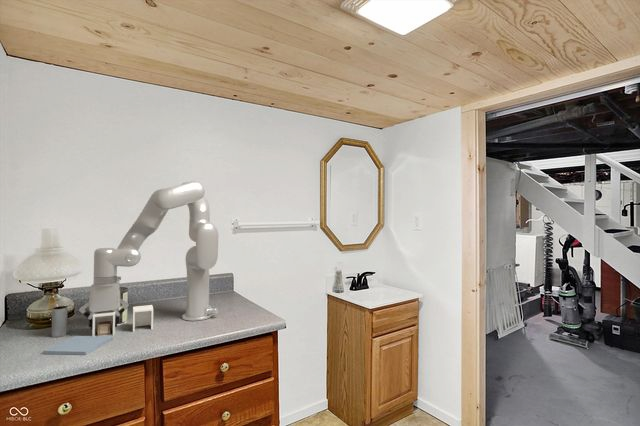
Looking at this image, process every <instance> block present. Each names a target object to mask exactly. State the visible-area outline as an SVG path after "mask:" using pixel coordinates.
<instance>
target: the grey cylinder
mask: <svg viewBox="0 0 640 426" xmlns="http://www.w3.org/2000/svg"><path fill="white" fill-rule="evenodd" d="M67 334H68V306H67V305H60V306H54V307H52V308H51V337H52V338H60V337H64V336H66V335H67Z"/></svg>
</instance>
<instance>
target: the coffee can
mask: <svg viewBox="0 0 640 426" xmlns="http://www.w3.org/2000/svg"><path fill="white" fill-rule="evenodd" d="M128 296H129V288H128V287H125V286H120V298H121V299H122V300H124V301H125V302H127V303H128V298H129V297H128ZM128 304H129V303H128ZM123 306H124V305H122V304H121V303H120V307H119V309H118V310H120V309H121V308H123ZM126 323H128V307H127V308H126V309H125V311H124V312H123V313H122V314H121V315H120V316H119V324H117V327H119V326H122V325H125V324H126Z"/></svg>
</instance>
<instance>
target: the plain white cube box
mask: <svg viewBox="0 0 640 426" xmlns="http://www.w3.org/2000/svg"><path fill="white" fill-rule="evenodd" d="M142 326H143V327H144V326H150V330H154V307H153V304H148V305H137V306H133V307H132V332H133V333H135V331H136V330H135V328H137V327H142Z"/></svg>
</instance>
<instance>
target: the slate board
mask: <svg viewBox="0 0 640 426" xmlns="http://www.w3.org/2000/svg"><path fill="white" fill-rule="evenodd" d="M113 337H114V336H109V335H100V336H98V335H97V336H96V335H95V336H92V335H73V336H71V337H69V338H67V339H65V340H63V341H60V342H59V343H56V344H54V345H52V346H51V347H48V348H46V349H44V350H42V355H69V356H86V355H88V354H90V353H91V352H93V351H95V350H97V349H98V348H100V347H102V346H104V345H105V344H107V343H109V342H111V341H112V340H113Z"/></svg>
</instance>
